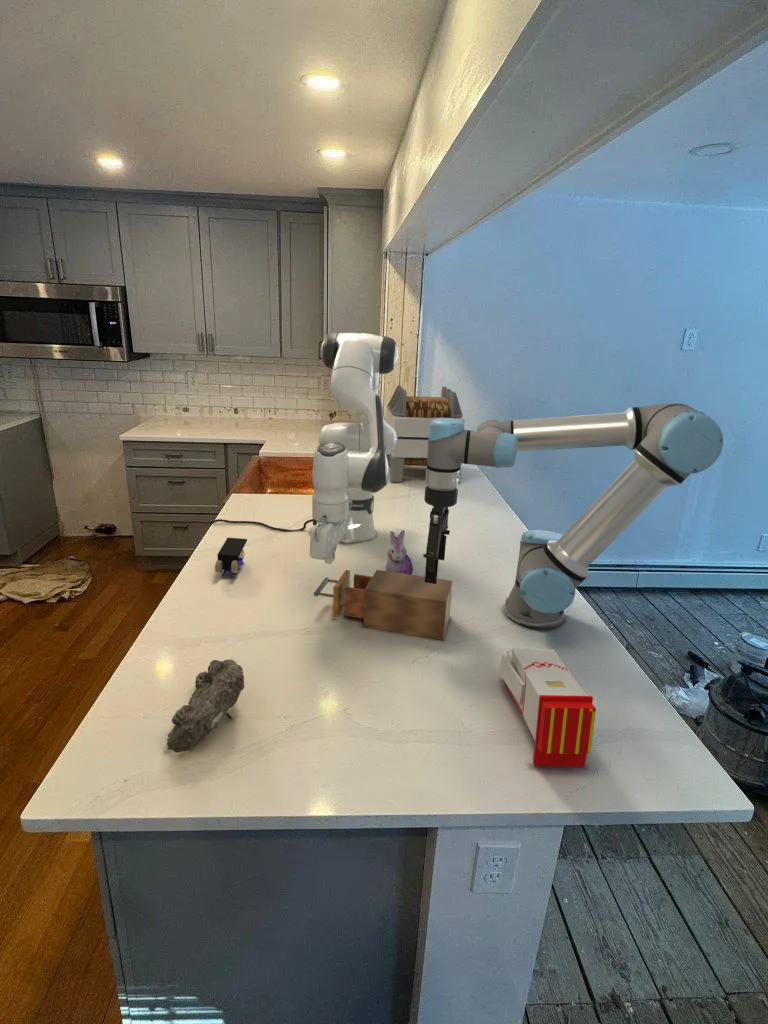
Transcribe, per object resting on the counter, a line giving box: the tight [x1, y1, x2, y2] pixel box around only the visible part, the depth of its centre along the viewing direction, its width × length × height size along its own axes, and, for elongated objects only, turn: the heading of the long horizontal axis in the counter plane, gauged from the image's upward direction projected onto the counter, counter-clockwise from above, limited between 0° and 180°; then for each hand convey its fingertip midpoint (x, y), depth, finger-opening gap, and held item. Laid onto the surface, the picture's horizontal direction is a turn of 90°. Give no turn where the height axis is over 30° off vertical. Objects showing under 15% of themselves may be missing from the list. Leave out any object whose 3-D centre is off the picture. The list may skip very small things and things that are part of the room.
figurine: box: [385, 529, 414, 575], centre depth 164 cm, size 9×10×15 cm
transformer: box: [385, 384, 465, 484], centre depth 268 cm, size 34×33×41 cm
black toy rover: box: [214, 537, 248, 578], centre depth 166 cm, size 7×8×15 cm
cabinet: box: [363, 569, 454, 641], centre depth 142 cm, size 20×11×11 cm, turn 76°
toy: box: [499, 648, 597, 768], centre depth 111 cm, size 12×13×30 cm
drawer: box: [312, 569, 373, 619], centre depth 145 cm, size 24×10×8 cm, turn 76°
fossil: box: [166, 658, 245, 754], centre depth 106 cm, size 22×10×15 cm
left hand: (329, 561), depth 143 cm, fingers closed
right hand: (434, 570), depth 137 cm, fingers open, 13 cm apart
